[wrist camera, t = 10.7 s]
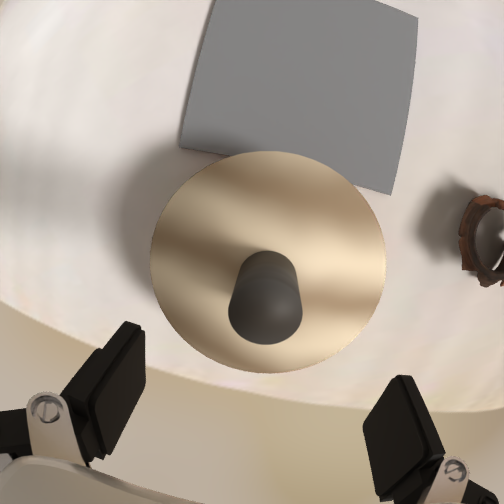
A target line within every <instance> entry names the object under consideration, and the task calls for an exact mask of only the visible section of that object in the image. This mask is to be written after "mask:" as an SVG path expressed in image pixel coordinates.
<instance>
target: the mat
mask: <svg viewBox="0 0 504 504" xmlns="http://www.w3.org/2000/svg"><path fill="white" fill-rule="evenodd" d="M417 33H418V18H417V17H415V16H412V15H410V14H408V13H405V12H403V11H401V10H398V9H396V8H393V7H391V6H388V5H386V4H383V3H380V2H378V1H375V0H216V2H215V5H214V8H213V11H212V14H211V17H210V21H209V24H208V27H207V31H206V34H205V38H204V41H203V45H202V49H201V52H200V56H199V60H198V64H197V67H196V71H195V75H194V80H193V84H192V88H191V92H190V96H189V101H188V105H187V110H186V115H185V119H184V124H183V129H182V134H181V139H180V145H179V147H181V148H187V149H194V150H200V151H206V152H212V153H218V154H224V155H229V156H235V155H238V154H242V153H249V152H257V151H279V152H286V153H292V154H297V155H301V156H304V157H307V158H310V159H313V160H315V161H318V162H320V163H322V164H324V165H326V166H328V167H330V168H331V169H333V170H334V171H336V172H337V173H339V174H340V175H342V176H343V177H344V178H345V179H347V180H348V181H349V182H350V183H351V184H354V185H357V186H361V187H364V188H367V189H371V190H374V191H377V192H381V193H384V194H387V195H390V196H391V193H392V189H393V185H394V181H395V177H396V173H397V168H398V164H399V159H400V155H401V150H402V145H403V140H404V135H405V129H406V124H407V118H408V112H409V106H410V99H411V92H412V85H413V77H414V68H415V58H416V47H417Z"/></svg>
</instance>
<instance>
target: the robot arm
mask: <svg viewBox="0 0 504 504" xmlns="http://www.w3.org/2000/svg"><path fill="white" fill-rule="evenodd" d="M145 383H146V374H145V331H143V330H141V326H140V325H137V324H134V323H131V322H128V321H125V322H124V323H123V324H122V325H121V326H120V328H119V329H118V330H117V331H116V333H115V334H114V335H113V336H112V338H111V339H110V340H109V341H108V343H107V344H106V345H105V346H104V348H103V349H100V348H98V349H96V350H95V351H94V352H93V353H92V354H91V356H90V357H89V358H88V359H87V361H86V362H85V363H84V364H83V365H82V367H81V368H80V369H79V371H78V372H77V373H76V374H75V376H74V377H73V378H72V379H71V381H70V382H69V383H68V385H67V386H66V387H65V388H64V390H63V391H62V393H61V394H60V395H57V394H55V393H52V392H41V393H37V394H36V395H34V396H33V397H31V399H29V401H28V403H27V407H26V408H23V409H16V410H9V411H0V504H203V503H198V502H193V501H189V500H185V499H181V498H177V497H174V496H170V495H167V494H163V493H160V492H156V491H153V490H150V489H147V488H143V487H140V486H137V485H134V484H131V483H128V482H126V481H123V480H120V479H118V478H115V477H112V476H110V475H107V474H104V473H101V472H99V471H96V470H93V469H92V468H91V465H90V462H92V461H93V459H94V457H97V458H99V459H102V460H104V458H105V455H106V454H108V455H111V454H112V452H113V450H114V448H115V446H116V444H117V442H118V440H119V438H120V436H121V433H122V431H123V430H124V428H125V426H126V424H127V422H128V420H129V418H130V415H131V414H132V412H133V410H134V408H135V406H136V404H137V402H138V400H139V398H140V396H141V394H142V392H143V390H144V387H145ZM363 433H364V436H365V441H366V446H367V451H368V456H369V461H370V466H371V470H372V476H373V481H374V486H375V492H376V494H377V495H378V496H379V498H380V502H385V501H392V500H394V504H499V502H498V499H497V497H496V496H495V494H493V493H492V492H490V491H488V490H487V489H485V488H483V487H481V486H480V485H478V484H476V483H474V482H473V481H471V480H469V473H470V472H469V468H468V466H467V464H466V463H465V462H464V461H463V460H462V459H460V458H458V457H455V456H450V457H447V458H446V459H444V457H443V455H444V454H445V453H446V452H445V450H444V448H443V445H442V443H441V440H440V438H439V435H438V433H437V430H436V428H435V426H434V423H433V421H432V419H431V416H430V414H429V412H428V410H427V407H426V405H425V403H424V401H423V398H422V396H421V394H420V392H419V390H418V388H417V386H416V383H415V381H414V379H413V377H412V376H410V375H397V376H396V377H395V378H393V379H391V381H390V382H389V384H388V386H387V387H386V389H385V391H384V392H383V394H382V395H381V397H380V398H379V400H378V401H377V403H376V405H375V406H374V408H373V409H372V411H371V412H370V413H369V415H368V417H367V418H366V420H365V421H364V423H363Z"/></svg>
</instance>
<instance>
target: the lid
mask: <svg viewBox="0 0 504 504" xmlns="http://www.w3.org/2000/svg"><path fill="white" fill-rule="evenodd" d="M150 271H151V279H152V284H153V288H154V292H155V295H156V298H157V300H158V303H159V305H160V308H161V309H162V311H163V313H164V315H165V316H166V318H167V320H168V321H169V323H170V324H171V325H172V327H173V328H174V329H175V331H176V332H177V333H178V334H179V335H180V336H181V337H182V338H183V339H184V340H185V341H186V342H187V343H188V344H190V345H191V346H192V347H193V348H194V349H196V350H197V351H199V352H200V353H202V354H203V355H205V356H206V357H208V358H210V359H212V360H214V361H216V362H218V363H220V364H223V365H226V366H228V367H231V368H235V369H239V370H243V371H248V372H255V373H283V372H290V371H295V370H300V369H303V368H306V367H310V366H313V365H315V364H317V363H320V362H322V361H324V360H326V359H328V358H329V357H331V356H333V355H335V354H336V353H338V352H339V351H340V350H342V349H343V348H344V347H346V346H347V345H348V344H349V343H350V342H351V341H352V340H353V339H355V338H356V337H357V336H358V334H359V333H360V332H361V331H362V330H363V328H364V327H365V326H366V324H367V323H368V321H369V320H370V318H371V317H372V315H373V313H374V311H375V309H376V307H377V305H378V303H379V300H380V297H381V294H382V291H383V288H384V282H385V276H386V250H385V243H384V239H383V235H382V231H381V228H380V225H379V223H378V221H377V218H376V216H375V214H374V212H373V211H372V209H371V207H370V206H369V204H368V202H367V201H366V199H365V198H364V197H363V196H362V195H361V193H360V192H359V191H358V190H357V189H356V187H354V186H353V185H352V184H351V183H350V182H349V181H348V180H347V179H345V178H344V177H343V176H342V175H340V174H339V173H337V172H336V171H334V170H333V169H331V168H330V167H328V166H326V165H324V164H322V163H320V162H318V161H315V160H313V159H310V158H307V157H304V156H301V155H297V154H292V153H286V152H279V151H257V152H249V153H242V154H238V155H235V156H231V157H228V158H225V159H222V160H220V161H218V162H215V163H213V164H211V165H209V166H207V167H206V168H204V169H203V170H201V171H199V172H198V173H196V174H195V175H194V176H192V177H191V178H190V179H189V180H188V181H186V182H185V183H184V184H183V185H182V186H181V187H180V188H179V189H178V190H177V192H176V193H175V194H174V195H173V196H172V197H171V199H170V200H169V202H168V204H167V205H166V207H165V208H164V210H163V212H162V214H161V216H160V218H159V220H158V222H157V225H156V228H155V231H154V235H153V238H152V244H151V251H150Z"/></svg>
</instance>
